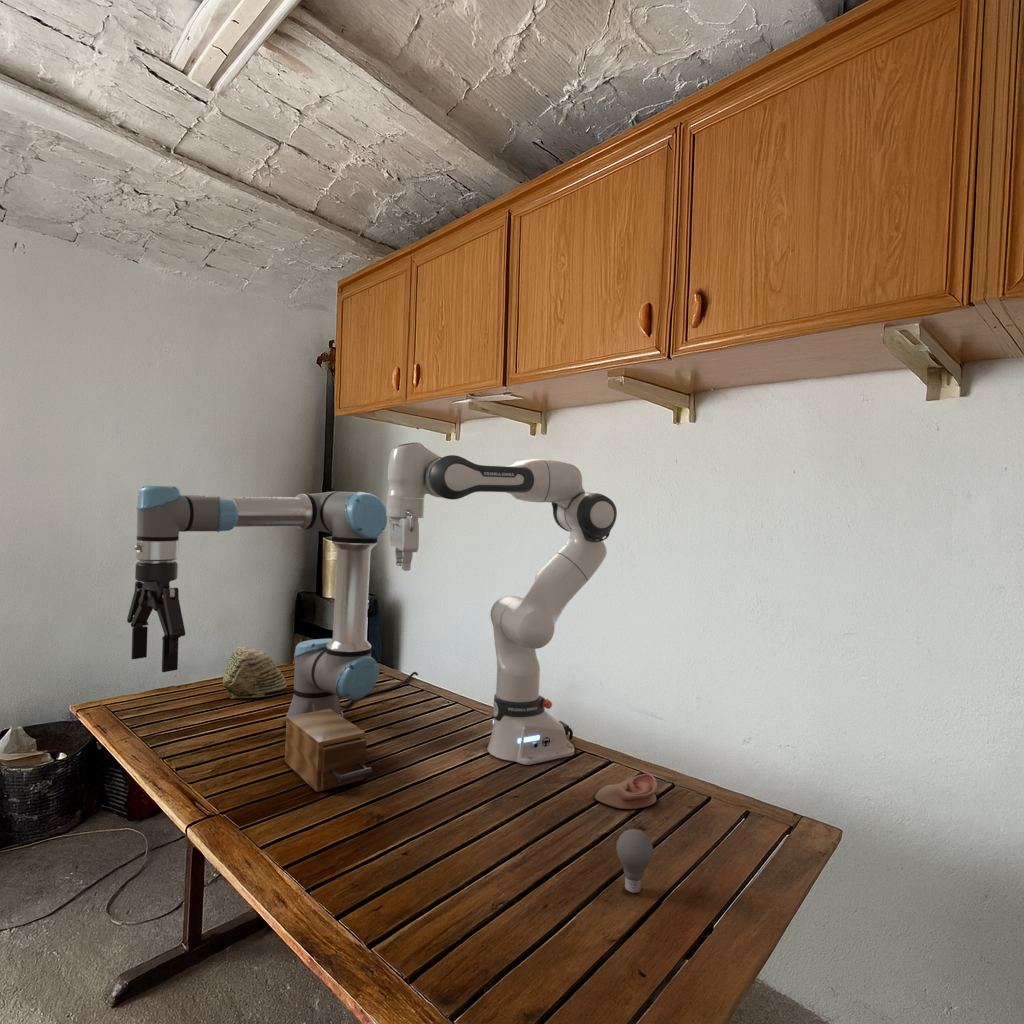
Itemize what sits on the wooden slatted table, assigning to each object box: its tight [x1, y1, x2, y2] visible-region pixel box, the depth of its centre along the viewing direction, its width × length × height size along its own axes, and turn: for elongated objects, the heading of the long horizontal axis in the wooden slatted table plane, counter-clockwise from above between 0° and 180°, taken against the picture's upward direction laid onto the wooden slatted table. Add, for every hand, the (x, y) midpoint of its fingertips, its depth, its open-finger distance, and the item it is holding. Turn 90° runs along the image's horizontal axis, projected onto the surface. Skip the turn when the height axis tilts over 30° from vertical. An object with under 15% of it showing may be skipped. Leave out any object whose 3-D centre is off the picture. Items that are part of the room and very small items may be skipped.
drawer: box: [321, 738, 373, 791], centre depth 142 cm, size 23×10×9 cm, turn 40°
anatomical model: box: [594, 773, 658, 810], centre depth 139 cm, size 13×4×12 cm
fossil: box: [222, 646, 288, 699], centre depth 198 cm, size 9×18×15 cm, turn 132°
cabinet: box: [284, 709, 366, 793], centre depth 146 cm, size 19×11×11 cm, turn 40°
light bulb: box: [615, 828, 654, 894], centre depth 106 cm, size 6×6×10 cm
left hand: (153, 664), depth 130 cm, fingers open, 13 cm apart
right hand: (402, 568), depth 151 cm, fingers open, 8 cm apart
